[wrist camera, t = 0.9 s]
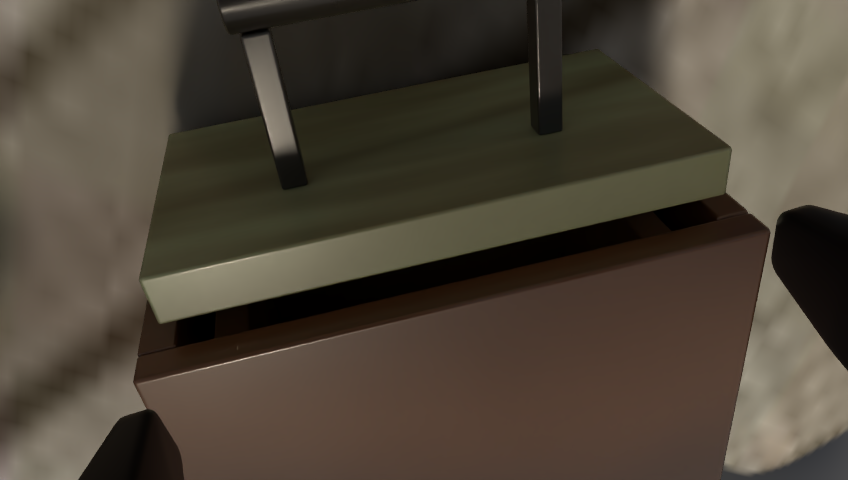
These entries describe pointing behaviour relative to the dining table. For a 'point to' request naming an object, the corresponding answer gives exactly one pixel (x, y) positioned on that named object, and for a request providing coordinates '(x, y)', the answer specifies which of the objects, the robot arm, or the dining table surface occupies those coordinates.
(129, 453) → the robot arm
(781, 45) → the dining table surface
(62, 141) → the dining table surface
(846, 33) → the dining table surface
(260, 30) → the drawer
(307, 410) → the cabinet
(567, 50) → the dining table surface
